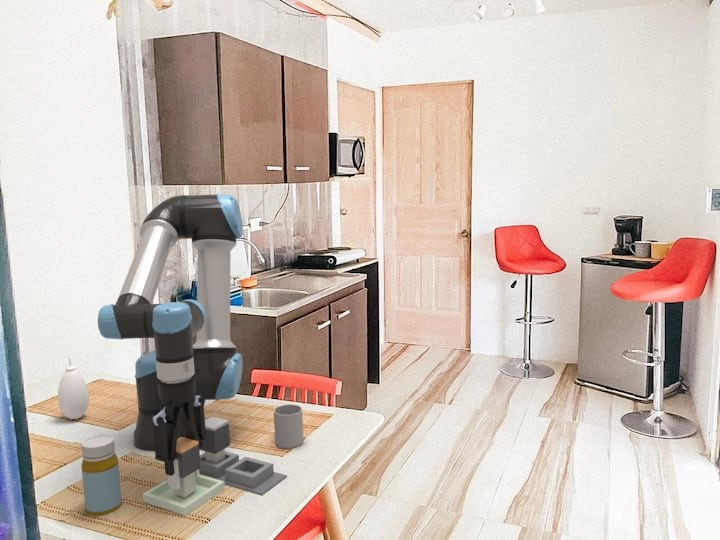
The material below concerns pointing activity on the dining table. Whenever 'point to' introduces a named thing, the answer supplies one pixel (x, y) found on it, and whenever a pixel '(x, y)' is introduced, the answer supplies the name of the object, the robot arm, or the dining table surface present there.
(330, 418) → the dining table surface
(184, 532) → the dining table surface
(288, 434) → the cup
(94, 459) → the bottle
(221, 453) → the strip
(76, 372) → the white air blower
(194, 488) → the plug
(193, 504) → the parts tray
